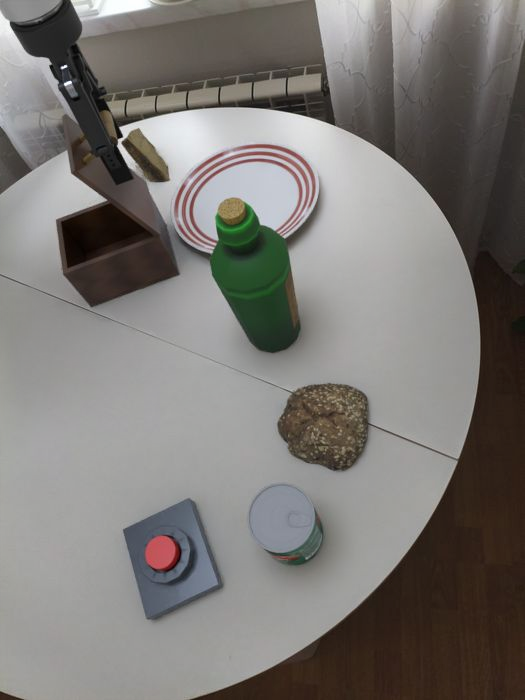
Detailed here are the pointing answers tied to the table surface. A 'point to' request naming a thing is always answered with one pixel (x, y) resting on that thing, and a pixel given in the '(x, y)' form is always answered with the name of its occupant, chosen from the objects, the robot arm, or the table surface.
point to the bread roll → (325, 424)
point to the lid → (108, 176)
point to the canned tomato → (286, 524)
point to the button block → (191, 568)
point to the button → (162, 553)
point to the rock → (145, 156)
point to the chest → (112, 252)
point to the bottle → (255, 276)
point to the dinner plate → (246, 190)
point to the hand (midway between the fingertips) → (119, 159)
